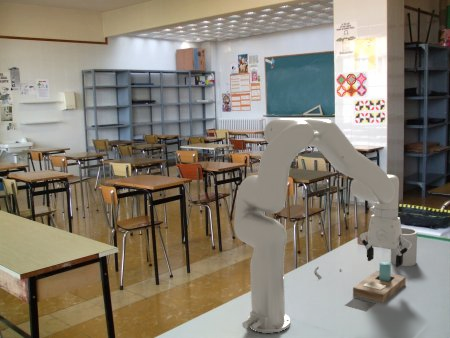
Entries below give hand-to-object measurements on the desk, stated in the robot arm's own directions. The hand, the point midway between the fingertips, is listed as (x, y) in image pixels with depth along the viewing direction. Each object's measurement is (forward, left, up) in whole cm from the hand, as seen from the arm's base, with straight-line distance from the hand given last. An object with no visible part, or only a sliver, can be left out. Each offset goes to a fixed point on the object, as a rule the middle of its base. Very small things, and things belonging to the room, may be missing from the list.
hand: (384, 262), depth 166 cm
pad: (-18, 0, -8) cm, 19 cm away
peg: (0, 0, -8) cm, 8 cm away
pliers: (-4, +19, -9) cm, 21 cm away
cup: (+26, +4, -9) cm, 28 cm away
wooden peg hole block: (-4, 0, -8) cm, 9 cm away
